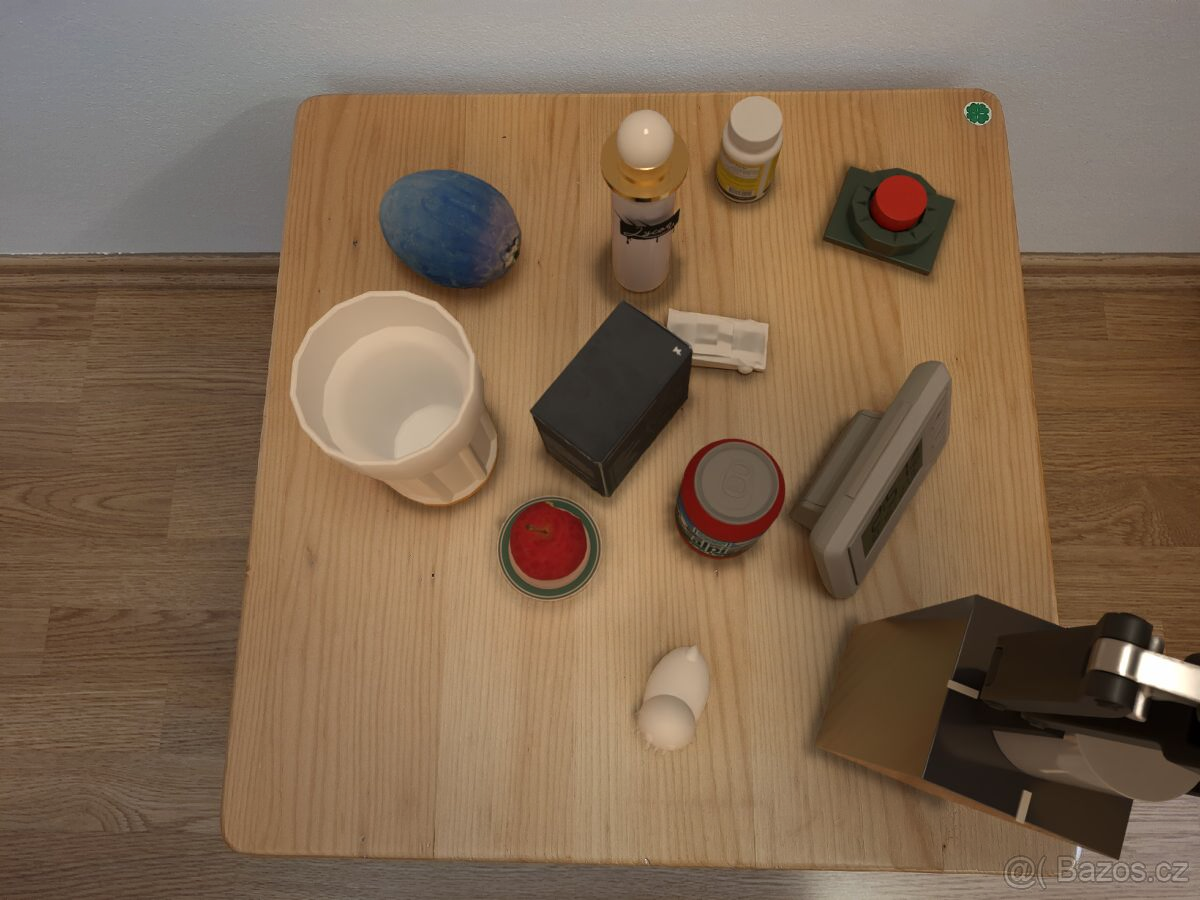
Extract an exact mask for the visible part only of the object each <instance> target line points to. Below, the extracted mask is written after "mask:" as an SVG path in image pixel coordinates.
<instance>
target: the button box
mask: <svg viewBox="0 0 1200 900" xmlns="http://www.w3.org/2000/svg"><path fill="white" fill-rule="evenodd" d="M896 175H903V176H908V177H911V178H913V179H915V180H917V181H918V182H919V183H920V184H921V185H922V186H923V188H924V189H925V191H926V194H927V204H926V207H925V209H924V211H923V213H922V214H921V216H920V217H919V219H918V221H917V222H916V223H915V224H914V225H913V226H912V227H910V228H908V229H906V230H903V231H891V230H888V229H885V228H883V227H881V226H880V225H879V224H878V223H877V222H876V221H875V220H874V218H873V216H872V214H871V210H870V205H871V201H872V198H873V196H874V194H875V192H876V190H877V188H878V187H879V185H880V184H881V183H882V182H883V181H884V180H885V179H887V178H889V177H892V176H896ZM955 203H956V200H955V199H954V198H949V197H947V196H944V195H941V194H938V193H937V190H936V189H935V188H934V187H933V185H931V184H930V183H929V181H927V180H926V179H925V177H923V176H922V175H921V174H920V173H919V174H918V173H915V172H913V171H909V170H907V169H904V168H900V167H893V168H886V169H879V170H875V171H873V172H871V171H868V170H865V169H863V168H858V167H856V166H854V165H850V167H849V169H848V170H847V174H846V176H845V179H844V182H843V185H842V188H841V190H840V193H839V195H838V198H837V200H836V202H835V206H834V209H833V211H832V214H831V216H830V219H829V221H828V224H827V227H826V229H825V232H824V234H823V237H822V240H823V241H825V242H828V243H831V244H835V245H837V246H840V247H843V248H845V249H848V250H852V251H855V252H858V253H860V254H863V255H866V256H868V257H873V258H875V259H878V260H881V261H884V262H886V263H890V264H893V265H896V266H899V267H901V268H904V269H908V270H910V271H914V272H916V273H919V274H922V275H924V276H929V275H930V274H931V273H932V270H933V268H934V264H935V261H936V258H937V256H938V253H939V250H940V246H941V244H942V242H943V241H942V240H943V237H944V235H945V232H946V229H947V226H948V224H949V220H950V218H951V215H952V211H953V209H954V206H955Z"/></svg>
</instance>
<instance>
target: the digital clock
mask: <svg viewBox="0 0 1200 900" xmlns="http://www.w3.org/2000/svg"><path fill="white" fill-rule="evenodd" d="M952 393H953V377H952V375H951V373H950V371H949V370H948V368H947V366H946V364H945V362H942V361H939V360H926V361H923V362H920V363H918V364H916V365H915V366H914V367H913V368H912V370H911V372H910V373H909V374H908V376H907V378H906V379H905V381H904V382H903V384H902V386H901V387H900V389H899V391H898V392H897V394H896V395H895V397H894V398H893V400H892V401H891V403H890V405H889V406H888V408H887V409H886V411H885V412H876V411H874V410H873V411H872V410H869V409H867V408H861V409H860V410H858V411H857V412H855V414H854V415H853V416H852V418H850V419H849V421H848V422H847V423H846V425H845V426H844V428H843V429H842V431H841V432H840V434H839V435H838V437H837V439H836V440H835V442H834V443H833V445H832V446H831V448H830V449H829V451H828V453H827V455H826V456H825V458H824V459H823V461H822V462H821V464H820V466H818V469H817V470H816V472H815V473H814V475H813V476H812V478H811V479H810V481H809V482H808V485H807V486H806V487H805V489H804V491H803V492H802V494H801V495H800V497H799V498H798V500H797V501H796V503H795V504H794V506H793V508H792V509H791V511H790V513H789V517H790V518H791V519H793V520H794V521H795V522H797V523H798V524H800V525H802V526H803V527H805V528H806V529H808V530H809V531H810V534H809V545H810V549H811V551H812V554H813V557H814V561H815V563H816V566H817V569H818V572H819V576H820V579H821V581H822V584H823V586H824V588H825V589H826V591H827V592H828V593H829V595H831V596H832V597H834V598H835V599H842V598H848V597H852V596H854V595H855V594H856V593H857V591H858V590H859V589H860V586H861V585H862V583H863V582H864V580H865V578H866V577H867V575H868V574H869V572H870V570H871V569H872V567H873V566H874V564H875V562H876V560H877V559H878V557H879V555H880V554H881V553H882V551H883V549H884V547H885V546H886V545H887V543H888V541H889V539H890V538H891V536H892V534H893V533H894V531H895V529H896V528H897V526H898V524H899V523H900V521H901V519H902V518H903V516H904V514H905V513H906V512H907V510H908V508H909V506H910V505H911V503H912V501H913V500H914V498H915V496H916V495H917V493H918V492H919V490H920V488H921V487H922V486H923V483H924V482H925V480H926V479H927V477H928V475H929V473H930V472H931V470H932V468H933V467H934V465H935V463H936V462H937V460H938V459H939V457H940V455H941V454H942V452H943V450H944V449H945V447H946V445H947V444H948V441H949V438H950V433H951V416H952V414H951V413H952V395H953V394H952Z"/></svg>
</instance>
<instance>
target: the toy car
mask: <svg viewBox="0 0 1200 900" xmlns="http://www.w3.org/2000/svg"><path fill="white" fill-rule="evenodd" d="M666 327H667V328H668V329H669V330H670V331H671V332H673V333H675V334H676V335H677V336H679V337H680V338H681V339H682V340H684V341H686V342H688V343H689V344H690V345H691V346H692V350H693V354H692V364H691V366H696V367H708V368H715V369H716V368H717V369H725V370H738V372H739V373H741V374H744V375H747V374H750V373H752V371H753V370H754V371H758V372H763V371H765V370H766V365H767V354H768V351H767V346H768V341H769V340H768V339H769V328H770V324H769V323H765V322H758V321H756V320H754V319H752V318H745V319H741V318H735V317H728V316H722V315H716V314H708V313H700V312H692V311H681V310H676V309H674V308H672V307H669V308H668V317H667V325H666Z"/></svg>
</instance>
